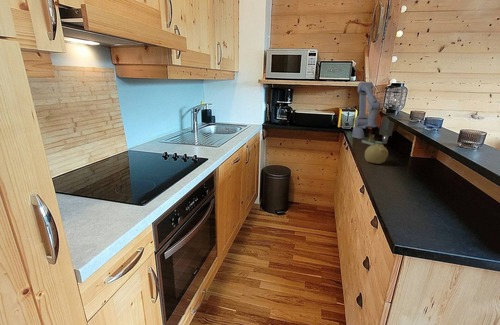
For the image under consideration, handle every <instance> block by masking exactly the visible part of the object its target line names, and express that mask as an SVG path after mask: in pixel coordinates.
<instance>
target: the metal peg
mask: <svg viewBox="0 0 500 325" xmlns="http://www.w3.org/2000/svg"><path fill="white" fill-rule="evenodd" d="M381 140H382V141H381V142H383V145H387V144H388V142H389V141H388V140H389V136H388V135H382V139H381Z"/></svg>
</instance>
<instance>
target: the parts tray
mask: <svg viewBox="0 0 500 325" xmlns="http://www.w3.org/2000/svg"><path fill="white" fill-rule="evenodd" d="M365 140H366V139H361V141H360V142H361V143H362V144H366V145H369V146H371V145H375V144H379V145H383V146H384V144H383V142H382V141H378V140H375V139H374V142H373V143H372V142H368V141H365Z"/></svg>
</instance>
